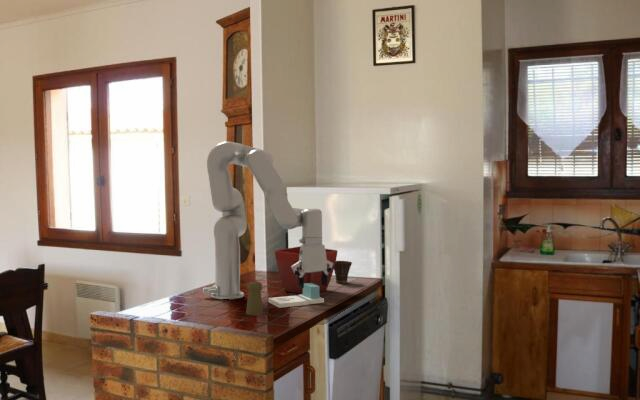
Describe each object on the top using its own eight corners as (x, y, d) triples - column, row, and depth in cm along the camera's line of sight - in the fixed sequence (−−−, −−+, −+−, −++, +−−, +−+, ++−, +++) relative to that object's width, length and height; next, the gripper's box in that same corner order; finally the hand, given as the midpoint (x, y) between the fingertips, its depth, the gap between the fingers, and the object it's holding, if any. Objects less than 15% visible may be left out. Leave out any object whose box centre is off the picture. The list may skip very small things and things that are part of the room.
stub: (309, 304, 217) (309, 288, 217) (298, 298, 226) (298, 283, 226) (323, 302, 220) (324, 286, 220) (312, 297, 229) (312, 282, 228)
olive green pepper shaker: (254, 310, 207) (254, 279, 207) (266, 313, 203) (267, 281, 203) (242, 313, 202) (242, 281, 202) (254, 316, 199) (254, 284, 198)
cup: (324, 281, 260) (327, 258, 260) (339, 281, 266) (342, 259, 266) (338, 285, 253) (341, 262, 253) (352, 285, 259) (356, 262, 259)
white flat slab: (279, 307, 211) (279, 303, 211) (268, 302, 220) (268, 297, 220) (308, 304, 217) (308, 300, 217) (297, 299, 226) (297, 295, 226)
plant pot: (309, 298, 229) (310, 255, 228) (273, 291, 240) (273, 250, 239) (338, 290, 244) (338, 250, 243) (302, 284, 255) (302, 245, 254)
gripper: (295, 244, 214) (296, 290, 215) (337, 241, 222) (337, 285, 223) (287, 241, 221) (287, 286, 222) (327, 239, 229) (328, 282, 230)
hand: (312, 286), depth 223 cm, fingers open, 9 cm apart
